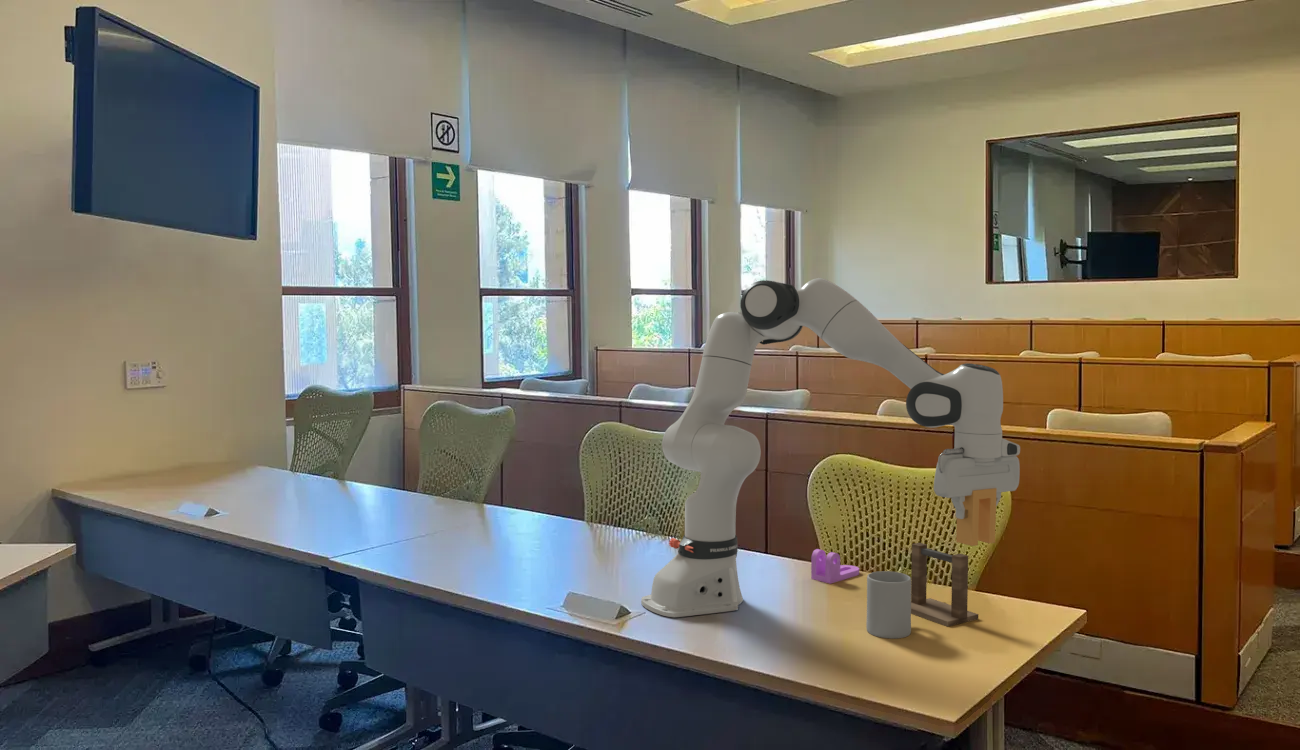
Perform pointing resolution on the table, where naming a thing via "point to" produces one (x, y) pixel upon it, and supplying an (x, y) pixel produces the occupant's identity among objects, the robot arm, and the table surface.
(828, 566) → the bracket
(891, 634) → the mug
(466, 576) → the table surface
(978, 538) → the tan arch block
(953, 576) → the stand with crossbar
